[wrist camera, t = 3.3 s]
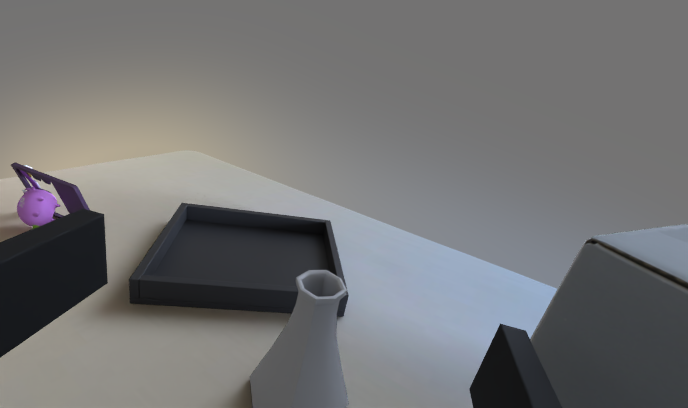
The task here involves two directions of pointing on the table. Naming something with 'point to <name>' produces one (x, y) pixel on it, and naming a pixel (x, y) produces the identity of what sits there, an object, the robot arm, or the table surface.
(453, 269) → the table surface
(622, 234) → the hard drive box
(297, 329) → the flask
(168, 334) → the table surface
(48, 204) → the purple ball figure frame
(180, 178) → the table surface
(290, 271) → the foam tray
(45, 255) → the robot arm
